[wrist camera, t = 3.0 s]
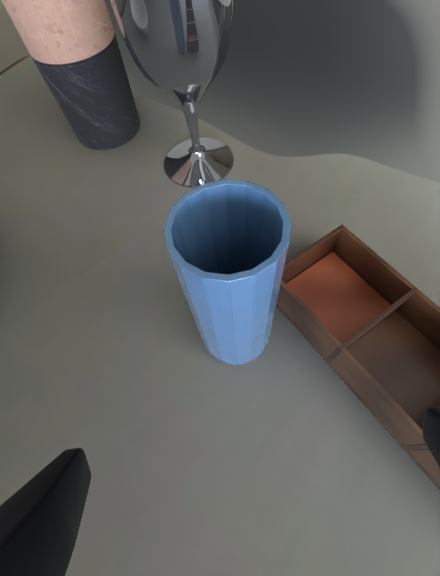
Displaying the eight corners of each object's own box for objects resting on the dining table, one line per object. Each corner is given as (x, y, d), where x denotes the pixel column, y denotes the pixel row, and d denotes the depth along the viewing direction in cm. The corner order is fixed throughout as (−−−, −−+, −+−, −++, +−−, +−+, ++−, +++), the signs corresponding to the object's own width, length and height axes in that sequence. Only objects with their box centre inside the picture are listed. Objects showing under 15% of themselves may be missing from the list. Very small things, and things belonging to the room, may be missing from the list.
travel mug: (109, 160, 33) (-46, -170, 16) (61, 136, 36) (-119, -173, 18) (156, 120, 36) (69, -203, 18) (108, 100, 38) (-9, -202, 21)
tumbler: (283, 338, 23) (317, 234, 12) (227, 378, 22) (209, 305, 11) (242, 289, 25) (239, 162, 14) (189, 324, 24) (142, 217, 13)
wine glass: (223, 127, 34) (209, -76, 21) (248, 176, 31) (251, -32, 18) (152, 147, 34) (93, -50, 21) (170, 199, 30) (111, 0, 17)
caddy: (579, 478, 18) (645, 483, 15) (504, 563, 17) (561, 587, 14) (331, 250, 26) (342, 224, 23) (267, 294, 25) (269, 272, 22)
